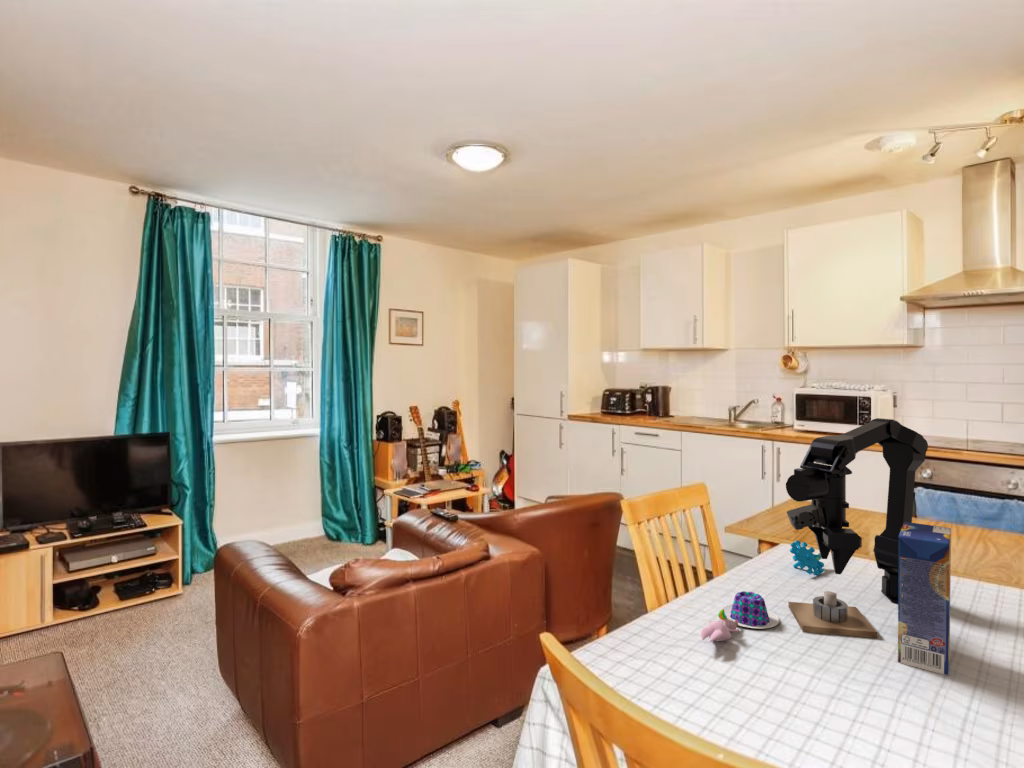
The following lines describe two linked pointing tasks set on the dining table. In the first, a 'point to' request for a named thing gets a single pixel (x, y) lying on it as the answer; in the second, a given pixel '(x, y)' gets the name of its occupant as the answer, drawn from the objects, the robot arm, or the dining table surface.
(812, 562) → the gear
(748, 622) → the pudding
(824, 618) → the hub ring
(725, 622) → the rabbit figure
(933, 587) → the juice carton
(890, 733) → the dining table surface
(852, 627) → the shaft stand
